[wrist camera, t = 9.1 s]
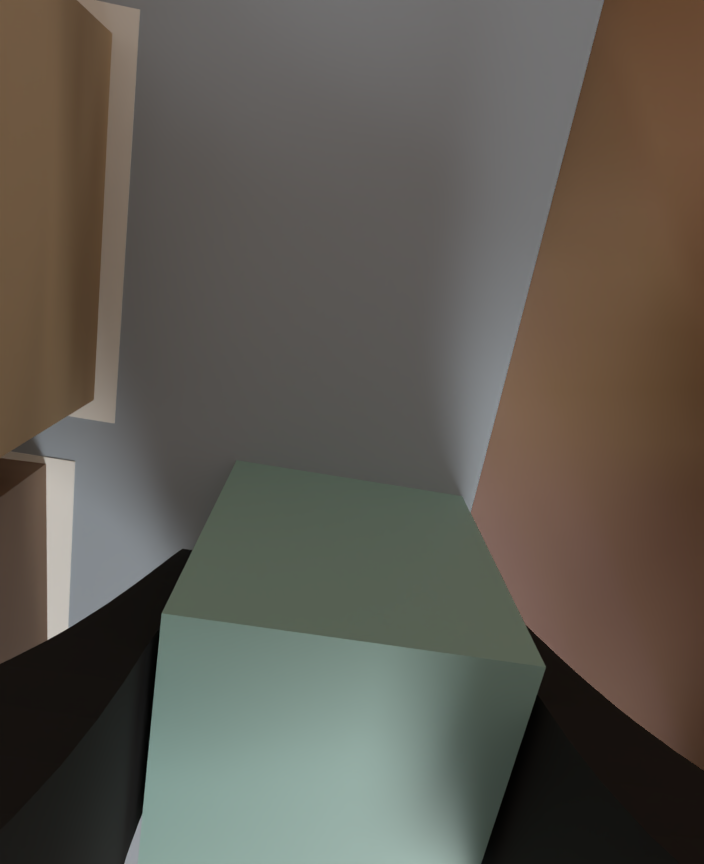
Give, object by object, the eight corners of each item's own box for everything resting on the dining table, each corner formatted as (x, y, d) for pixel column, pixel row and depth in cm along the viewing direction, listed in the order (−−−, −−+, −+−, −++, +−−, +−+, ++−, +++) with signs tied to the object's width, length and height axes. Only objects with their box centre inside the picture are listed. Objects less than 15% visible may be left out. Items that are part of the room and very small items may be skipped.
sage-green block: (462, 495, 12) (545, 667, 7) (415, 680, 13) (459, 931, 8) (236, 460, 11) (161, 613, 7) (211, 652, 13) (133, 897, 8)
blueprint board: (615, -75, 9) (627, -89, 9) (362, 908, 16) (363, 926, 15) (-410, -315, 8) (-448, -343, 8) (-231, 845, 15) (-247, 862, 14)
